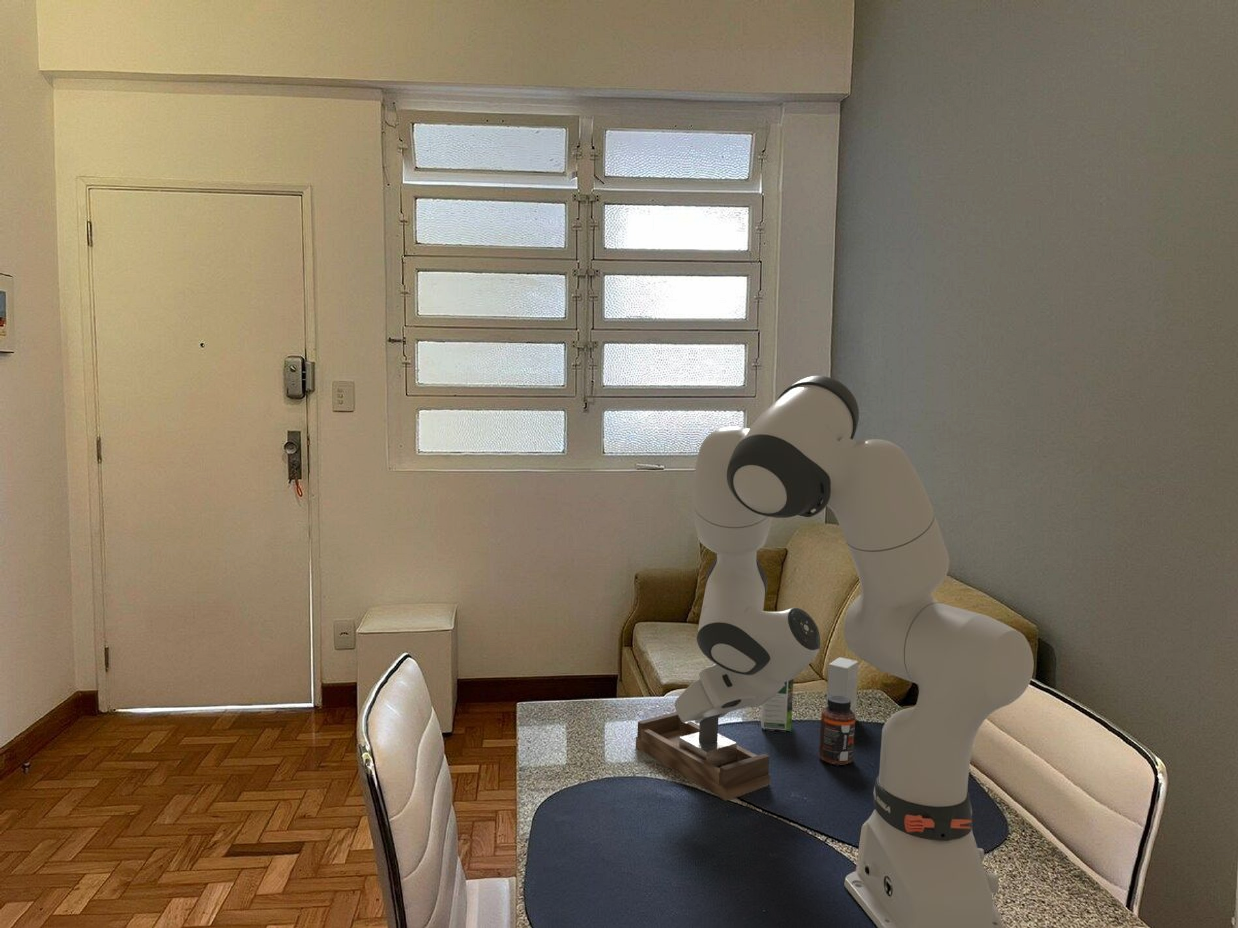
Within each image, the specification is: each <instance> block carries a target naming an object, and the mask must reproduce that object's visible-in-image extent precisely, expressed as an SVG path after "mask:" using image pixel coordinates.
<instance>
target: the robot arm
mask: <svg viewBox="0 0 1238 928" xmlns="http://www.w3.org/2000/svg"><path fill="white" fill-rule="evenodd" d="M859 420H860V411H859V405H858V402H857V400H856V397H855V395H854V394H853V393H852V391H851V390H850V389H849V388H848V387H847V386H846V385H844V384H843V383H841V382H840V381H839V380H837V379H835V378H833V377H829V376H825V375H812V376H807V377H805V378H801V379H800V380H798V381H796V382H795V383H793V384H792V385H790V386H789V387H787V388H786V389H784V391H782V393H781V394H780V395H779V396H778V397H777V399H776V400H775V401H774V402H773V403H772V404H771V405H770V406H769V407H768V408H767V409H766V410H764V411H763V412H762V413H761V414H760V415H759V416H758V417H757V419H756V420H755V421H754V422H753V424H752V425H751V427H750V428H749V427H745V426H744V427H743V426H739V425H738V426H735V425H732V426H725V427H721V428H718V429H716V430H714V431H712V432H711V433H710V434H709V435H707V436H706V437H705V438H704V440H703V441H702V443H701V445H700V447H699V450H698V453H697V459H696V463H695V469H694V475H693V484H692V485H693V486H692V487H693V488H692V515H693V516H692V517H693V523H694V527H695V530H696V536H697V538H698V541H699V542H700V544H702V546H704V547H705V548H706V549H708V550H709V551H711V552H713V553H715V554H716V557H715V559H714V561H713V562H712V563H711V565H710V567H709V568H708V571H707V573H706V577H705V578H706V579H705V585H704V586H705V590H704V596H703V599H702V601H703V602H702V607H701V611H700V615H699V621H698V628H697V635H696V644H697V646H698V647H699V650H700V651H701V652H702V654H703V655H704V656H705V657H706V658H708V660H710V661H711V662H712V663H714V664H712V665H709V666H707V667H705V668H703V669H702V670H701V671H699V672H698V677H699V678H698V679H696V680H695V681H693V682H692V683H690V685H689V686H687V688H685V689H684V691H682V693H681V694H680V695H679V696H678V697H677V698H676V699H675V701H674V709H675V712H677V714H678V716H679V718H680V719H681V721H682V722H683V723H688V722H695V724H700V723H701V722H704V721H705V720H706V719H707V718H708V717H711V716H715V715H719V718H718V719H720V718H723V717H724V716H726V715H727V714H728V713H731V712H733V711H738V710H741V709H745V708H757V707H758V708H759V707H761V705H762V704H764V703H765V702H766V701H768V700H770V699H771V698H773V697H774V696H775V695H776V694H777V693H778V692H779V691H780V690H781V689H782V688H783V686H784V683H785V682H786V681H790V680H792V679H793V678H794V679H795V678H796V677H797V676H798V675H799V674H800V673H801V672H803V671H804V670H805V669H806V668H807V667H808V666H809V665H810V664H811V662H812V661H813V660H814V659H815V658H816V656H817V655H818V653H819V651H820V648H821V633H820V630H819V627H818V626H817V624H816V622H815V620H814V619H813V617H812V616H811V615H810V614H809V613H807V612H806V611H805V610H803V609H801V608H800V607H791V608H788V609H785V610H780V611H770V610H769V611H766V610H764V608H765V600H766V595H767V591H768V585H769V584H768V583H769V582H768V578H767V574H766V573H765V571H764V569H763V566H762V565H761V563H760V561H759V559H758V558H759V557H758V550H760V549H762V548H763V547H764V546H765V544H766V542H767V540H768V537H769V534H770V530H771V526H772V521H773V518H777V519H781V518H783V519H786V518H792V517H795V516H796V517H797V516H800V517H803V518H804V517H805V518H811V517H815V516H817V515H818V514H819V513H821V512H823V510H824V509H825V508H826V507H828V508H829V509H830V510H831V512H832V513H833V514H834V516H835V518H836V520H837V522H838V525H839V528H840V531H841V533H842V535H843V538H844V541H845V544H846V546H847V549H848V551H849V555H850V557H851V560H852V562H853V566H854V569H855V571H856V575H857V577H858V579H859V583H860V584H859V585H860V591H861V592H860V594H859V595H858V596H857V597H856V598H855V599H854V600H853V601H852V602H851V604H850V605H849V607H848V609H847V610H846V614H845V616H844V620H843V636H844V640H845V643H846V646H847V647H848V648H847V649H848V650H849V651H850V652H851V653H853V655H855V656H857V658H860V659H861V660H862V661H864V662H865V663H867V664H869V665H870V666H872V667H874V668H875V669H877V670H879V671H881V672H883V673H887V674H889V675H892V676H893V677H894V676H895V677H896V678H900V679H902V680H905V681H908V682H911V683H915V684H916V685H917V687H918V696H917V700H916V704H915V705H914V706H913V707H912V706H911V707H908V708H904V709H901V710H899V711H897V712H895V713H893V714H892V715H891V716H890V717H889V718H888V719H887V720H886V722H885V723H884V724H883V726H882V729H881V742H880V744H881V745H880V756H879V770H878V771H879V774H878V775H877V776H876V778H875V783H874V787H873V807H874V810H873V811H872V813H871V815H870V816H869V817H868V819H866V821H865V822H864V823H863V824H862V825H861V828H860V829H861V830H860V838H859V843H858V844H859V845H858V853H857V860H856V868H855V871H852V872H850V873H849V874H847V875H846V876H845V878H844V879H845V880H844V883H843V884H844V888H846V890H847V891H848V892H849V893H850V894H851V895H852V897H853V898H854V900H856V902H857V903H858V904H859V906H861V908H862V909H863V910H864V912H865V913H866V914H867V916H868V917H869V918H870V919H871V920H872V921H873V923H874V924H875V925H876V927H877V928H1005V926H1004V925H1003V921H1002V919H1001V917H1000V915H999V912H998V910H997V908H996V906H995V903H994V901H993V894H997V893H999V887H1000V885H999V883H1000V882H999V876H998V875H997V874H996V873H993V872H986V871H985V868H984V863H983V860H985V851H984V849H983V848H981V847H978V845H977V842H976V838H975V836H974V832H973V820H972V819H973V818H972V816H973V808H972V804H971V796H970V793H969V792H968V785H969V775H970V767H971V766H970V764H971V758H972V754H973V753H972V751H973V745H974V742H975V738H976V737H977V733H978V731H979V730H980V727H982V725H983V724H984V722H985V720H986V719H988V717H989V716H990V715H991V714H992V713H994V712H995V711H997V710H1000V709H1001V708H1005V707H1006V706H1008V705H1010V704H1012V703H1014V702H1016V700H1018V699H1019V698H1020V697H1021V696H1023V694H1024V693H1025V692H1026V690H1027V688H1028V687H1029V685H1030V683H1031V681H1032V677H1033V673H1034V664H1035V663H1034V655H1033V651H1032V648H1031V645H1030V644H1029V641H1028V639H1027V638H1026V636H1025V635H1024V634H1023V633H1022V632H1021V631H1019V630H1017V629H1015V628H1013V627H1011V626H1010V625H1008V624H1005V623H1004V622H1002V621H1000V620H998V619H995V618H993V617H992V616H989V615H988V614H983V613H979V612H975V611H971V610H968V609H965V608H961V607H957V606H953V605H950V604H945V603H943V602H941V601H938V599H936V598H935V597H934V596H933V595H932V594H933V593H934V592H935V591H937V590H938V589H939V588H940V586H942V585H943V582H944V581H945V579H946V578H947V574H948V572H949V568H950V563H951V562H950V561H951V560H950V556H949V553H948V550H947V547H946V544H945V541H944V538H943V534H942V532H941V529H940V526H939V523H938V520H937V517H936V513H935V511H934V508H933V505H932V502H931V500H930V497H929V495H928V492H927V490H926V488H925V486H924V484H923V482H922V480H921V478H920V476H919V473H918V472H917V471H916V469H915V466H914V465H913V464H912V462H911V460H910V459H909V457H908V456H907V454H906V453H905V451H904V450H903V449H902V448H901V447H900V446H899V445H897V444H896V443H894V442H892V441H889V440H885V439H882V438H881V439H880V438H871V439H864V440H860V441H859V440H856V439H855V440H854V438H855V434H856V431H857V430H858V429H857V428H858V424H859ZM813 510H815V511H813ZM812 511H813V512H812Z"/></svg>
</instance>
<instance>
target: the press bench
mask: <svg viewBox="0 0 1238 928" xmlns="http://www.w3.org/2000/svg"><path fill="white" fill-rule="evenodd" d="M699 725H700V724H698V723H696V722H695V723H694V721H692V722H688V723H683V722H682V721H681V719H680V718H679V716H678V714H677V711H674V712H671V713H667V714H663V715H658V716H655V717H651V718H646V719H642V720H639V721H637V735H636V736H635V748H636V749H637V750H640V751H641V752H642V753H644V754H646V755H647V756H649V757H650V758H653V759H655V760H656V761H657V762H659V763H661V764H663V765H664V766H666V767H668V768H670V769H671V770H673V771H674V772H676V773H678V774H680V775H681V776H683V777H685V778H686V779H688V780H690V781H692V782H693V783H695V784H697V785H698V786H700V787H702V788H703V789H705V790H706V791H708V792H710V793H711V794H713V795H715V796H716V797H719V798H720V799H721V800H722V801H723V800H724V801H730V800H732V799H733V800H734V799H735V798H738V797H741V796H744V795H747V794H750V793H753V792H755V791H754V790H756V791H758V790H757V789H759V788H762V787H764V786H767V785H769V784H770V783H771V774H770V773H769V772H770V771H769V769H770V768H769V767H770V755H768V754H766V753H761V754H756V753H754V752H751V751H749V750H747V749H746V748H743V747H741V746H740V745H738V744H737V753H736V760H734V761H731V762H728V763H724V764H721V765H718V766H714V765H712V764H710V763H709V762H707V761H705V760H703V759H702V758H700V757H698V756H696V755H694V754H693V753H691V752H689V751H687V750H685V749H684V748H682V747H680V746H679V738H680V737H683V736H686V735H690V734H694V733H697V732H699ZM770 785H771V784H770ZM767 787H768V786H767ZM762 789H763V788H762ZM759 790H760V789H759ZM752 791H753V792H752ZM749 792H750V793H749ZM746 793H747V794H746Z"/></svg>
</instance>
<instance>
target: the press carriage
mask: <svg viewBox="0 0 1238 928" xmlns="http://www.w3.org/2000/svg"><path fill="white" fill-rule="evenodd" d="M719 719H720V718H719V715H715V716H711V717H708V718H707V719H706V720H705V721H704V722H701V723H699V724H698V725H699V732H697V733H694V734H690V735H686V736H683V737H680V738H679V746H680V747H682V748H684V749H685V750H687V751H689V752H691V753H693V754H694V755H696V756H698V757H700V758H702V759H703V760H705V761H707V762H709V763H710V764H712V765H714V766H718V765H721V764H724V763H728V762H731V761H734V760H736V753H737V745H738V743H737V742H736V741H734V740H732V739H730V738H728V737H726V736H724V735H722V734H720V733H719Z"/></svg>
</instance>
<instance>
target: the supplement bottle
mask: <svg viewBox="0 0 1238 928" xmlns="http://www.w3.org/2000/svg"><path fill="white" fill-rule="evenodd" d="M827 704H828V707H823V709H821V716H820V726H819V727H820V729H819V730H820V731H819V747H818V757H819V756H820V757H819V759H820V760H821V759H822V761H823V760H824V761H826V762H829V763H834V764H841V765H843V764H847V763H850V764H851V763H852V761H853V759H854V758H853V757H854V743H855V742H854V741H855V731H856V730H855V729H856V716H855V714H854V712H853V711H851V709H850V707H851V700H850V699H849V698H847V697H844V696H837V695H834V696H829V697H828V703H827ZM824 761H823V762H824ZM826 762H825V763H826ZM829 763H828V764H829Z"/></svg>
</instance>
